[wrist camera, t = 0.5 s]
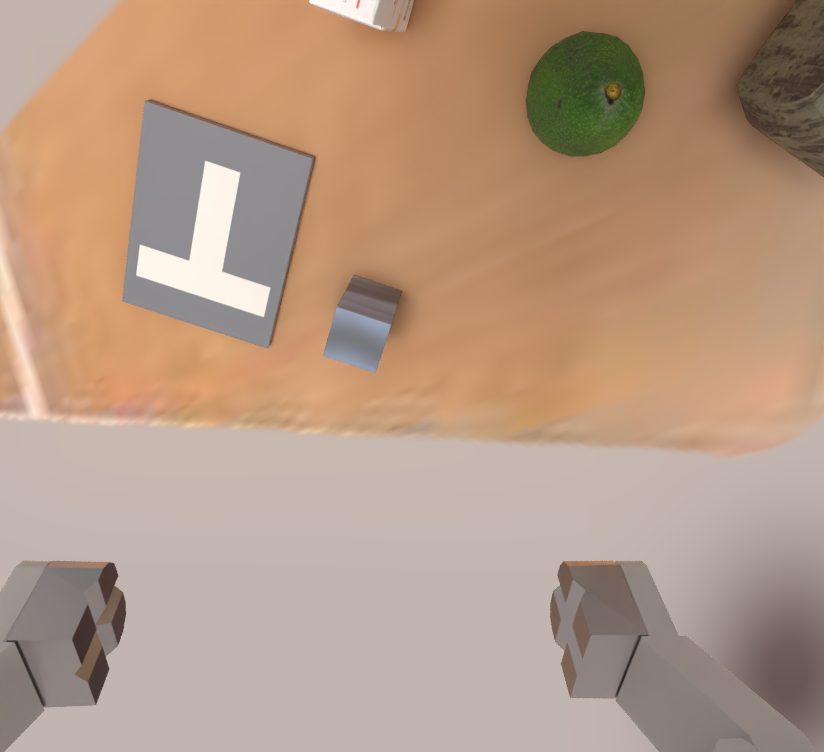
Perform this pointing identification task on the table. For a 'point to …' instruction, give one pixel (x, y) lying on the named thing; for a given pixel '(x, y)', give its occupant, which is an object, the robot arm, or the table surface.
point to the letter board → (213, 223)
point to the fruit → (585, 94)
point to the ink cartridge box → (371, 12)
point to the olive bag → (790, 85)
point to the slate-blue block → (362, 323)
